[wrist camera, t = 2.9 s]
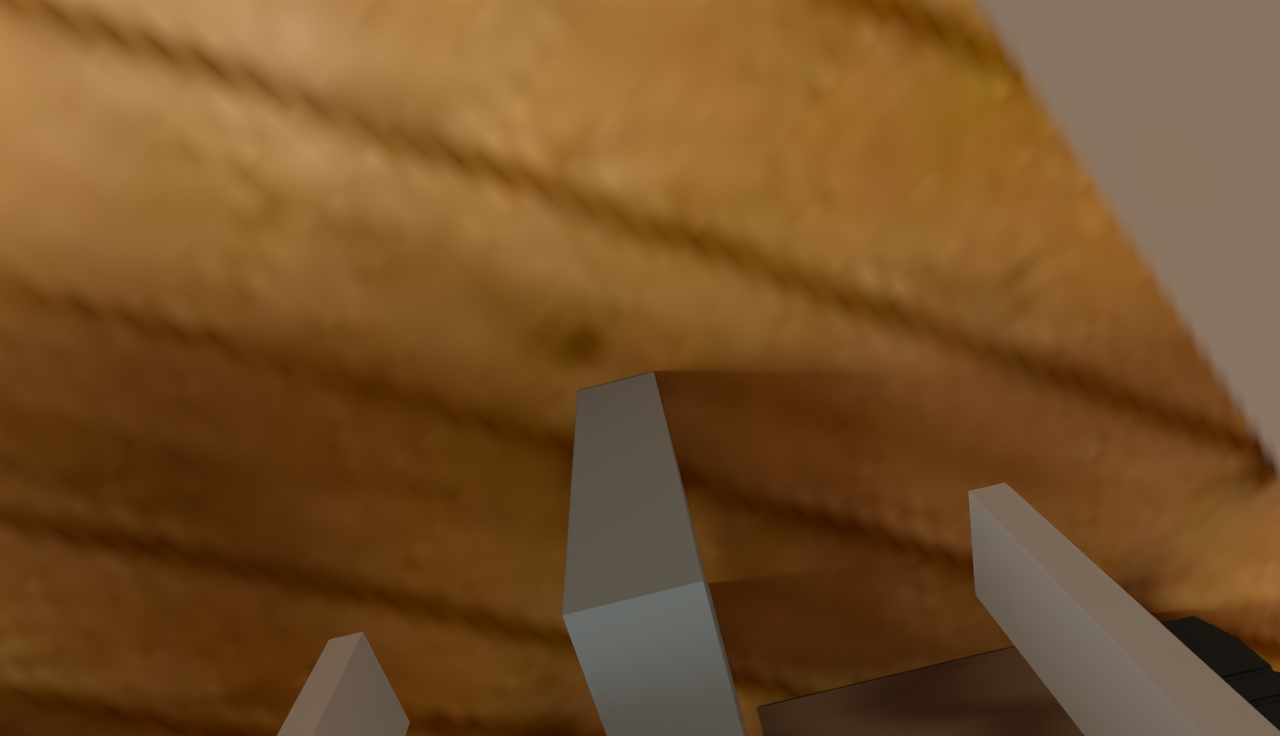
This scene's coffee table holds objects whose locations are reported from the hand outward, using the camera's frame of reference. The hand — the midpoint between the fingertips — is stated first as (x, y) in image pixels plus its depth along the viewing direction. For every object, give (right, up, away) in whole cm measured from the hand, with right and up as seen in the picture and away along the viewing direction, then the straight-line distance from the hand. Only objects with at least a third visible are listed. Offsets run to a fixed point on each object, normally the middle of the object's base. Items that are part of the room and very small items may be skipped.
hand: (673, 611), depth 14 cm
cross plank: (0, -1, +9) cm, 9 cm away
